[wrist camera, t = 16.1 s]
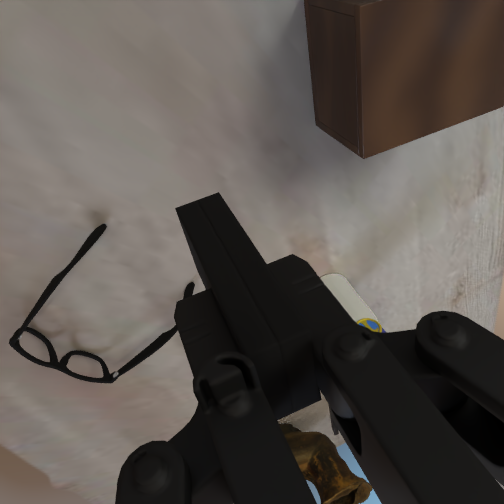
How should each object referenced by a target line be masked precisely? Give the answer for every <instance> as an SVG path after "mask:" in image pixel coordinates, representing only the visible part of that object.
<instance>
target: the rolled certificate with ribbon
mask: <svg viewBox="0 0 504 504" xmlns="http://www.w3.org/2000/svg"><path fill="white" fill-rule="evenodd" d="M320 279H321V280H322V281H323V282H324V285H326V286H327V287H328V289H329V290H330V291H331V292H332V294H333V295H334V296H335V297H336V299H337V300H338V301H339V302H340V304H341V305H342V306H343V308H344V309H345V310H346V311H347V313H348V314H349V315H350V316H351V318H352V319H353V320H354V321H355V322H356V323H357V324H359V325H361V326H364V327H367V328H369V329H370V330H371V331H374V332H381V333H386V332H385V330H384V329H383V328H382V327H381V325H380V324H379V321H378V319H377V317H376V316H375V314H374V313H373V312H372V311H371V309H370V308H369V307H368V306H367V305H366V303H365V302H364V301H363V300H362V299H361V297H360V296H359V295H358V294H357V292H356V291H355V290H354V288H353V287H352V286H351V284H350V283H349V282H348V280H347V279H346V278H345V277H344V276H343V275H341V274H336V273H333V274H328V275H325V276H323V277H321V278H320Z"/></svg>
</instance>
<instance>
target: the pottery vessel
mask: <svg viewBox="0 0 504 504" xmlns="http://www.w3.org/2000/svg"><path fill="white" fill-rule="evenodd" d="M280 427H281V430H282V432H283V434H284V436H285V438H286V440H287V442H288V444H289V446H290V448H291V450H292V453H293V455H294V457H295V459H296V461H297V463H298V465H299V467H300V469H301V471H302V473H303V476H304V478H305V480H309V481H311V482H312V483H313V484H314V485H315V487H316V489H317V491H318V493H319V496H320V499H321V504H358V503H362V502H364V501H365V500H366V499H368V497H369V495H370V491H372V486H371V485H370V483H368V482H366V480H364V479H363V478H359V477H357V476H356V475H355V474H353V473H352V472H351V471H350V469H349V468H348V466H347V464H346V462H345V461H344V460H343V459H342V458H341V457H340V456H339V454H338V452H337V449H336V446H335V445H334V444H333V443H332V441H331V440H330V439H329V438H328V437H327V436H326V435H324V434H322V433H320V432H301V431H300V430H299V429H298V428H295V427H293V425H291V424H280Z"/></svg>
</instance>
